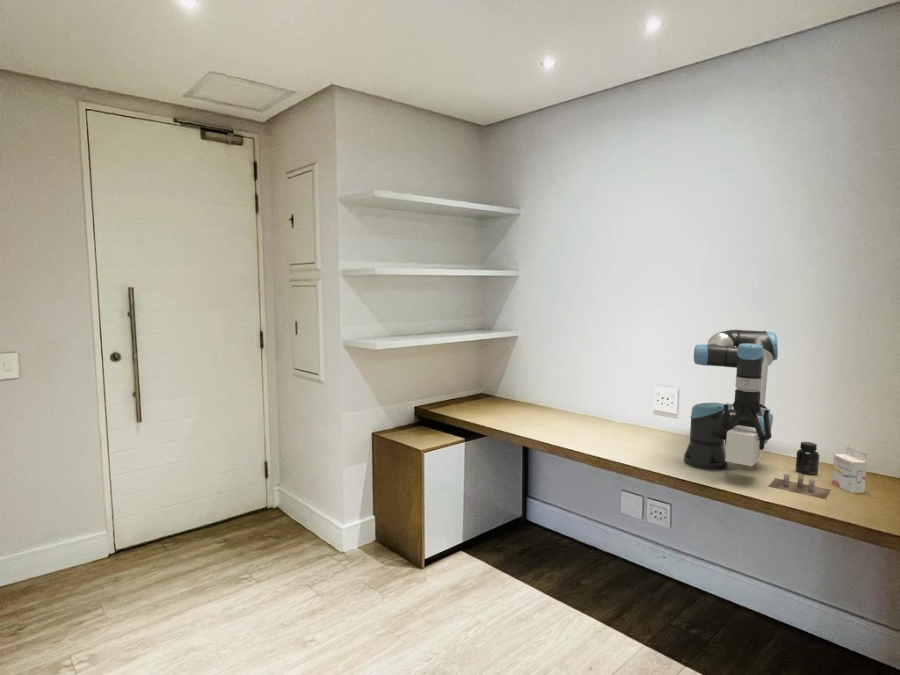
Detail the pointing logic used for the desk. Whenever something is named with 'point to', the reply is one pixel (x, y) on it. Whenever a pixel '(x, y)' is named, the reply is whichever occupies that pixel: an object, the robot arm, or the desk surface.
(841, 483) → the ink cartridge box
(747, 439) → the block
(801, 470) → the supplement bottle
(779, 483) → the pin board
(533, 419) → the desk surface
